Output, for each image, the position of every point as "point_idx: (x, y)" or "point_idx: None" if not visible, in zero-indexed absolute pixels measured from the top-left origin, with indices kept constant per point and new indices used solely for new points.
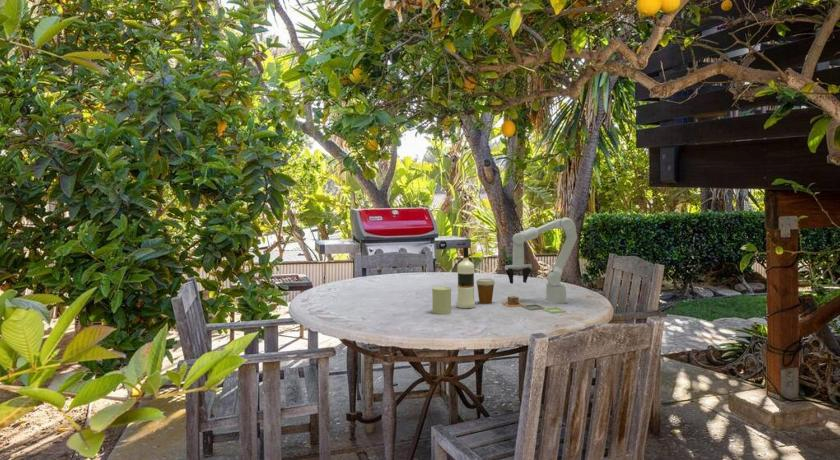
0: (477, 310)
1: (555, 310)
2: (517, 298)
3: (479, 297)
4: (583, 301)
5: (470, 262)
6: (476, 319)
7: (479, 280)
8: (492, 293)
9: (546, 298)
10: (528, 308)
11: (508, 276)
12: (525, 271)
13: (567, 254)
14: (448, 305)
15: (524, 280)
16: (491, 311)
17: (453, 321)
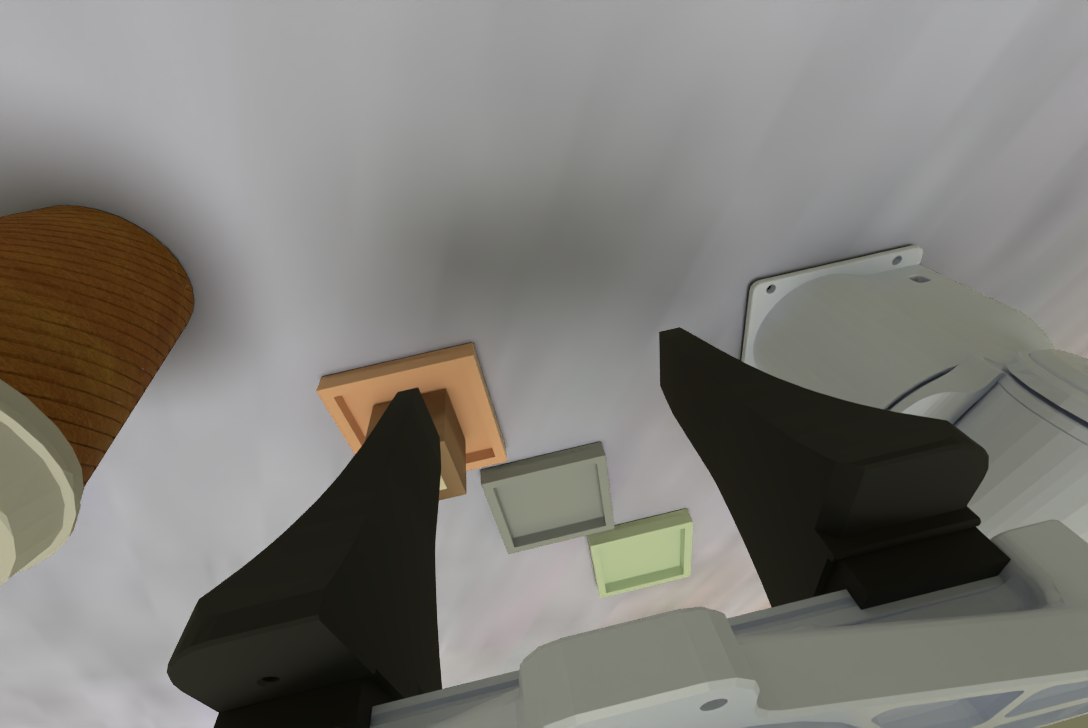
0: (101, 531)
1: (653, 543)
2: (454, 490)
3: None
4: (1040, 306)
5: None
6: (156, 673)
7: None
8: (141, 392)
9: (774, 342)
10: (503, 539)
11: (339, 484)
12: (771, 553)
13: None
14: None
15: (674, 386)
16: (230, 550)
17: (19, 706)
